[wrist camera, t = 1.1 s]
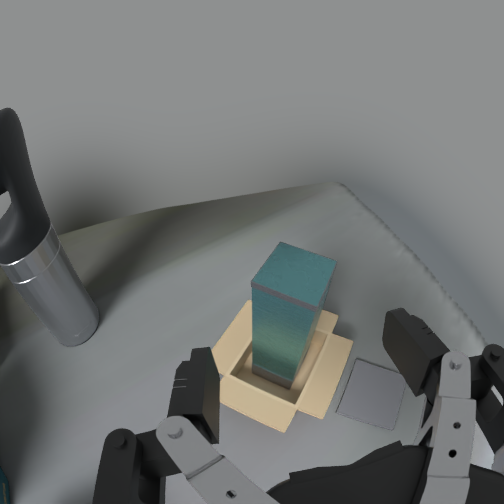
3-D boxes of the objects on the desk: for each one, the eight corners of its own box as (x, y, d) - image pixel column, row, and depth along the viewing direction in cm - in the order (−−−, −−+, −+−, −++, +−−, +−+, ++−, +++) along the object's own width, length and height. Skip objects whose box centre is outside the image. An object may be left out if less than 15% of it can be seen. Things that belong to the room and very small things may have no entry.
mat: (335, 412, 27) (336, 412, 26) (355, 360, 32) (356, 358, 32) (391, 430, 24) (393, 429, 24) (405, 377, 29) (407, 376, 29)
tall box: (251, 373, 31) (251, 281, 20) (270, 342, 34) (280, 241, 23) (289, 390, 29) (317, 307, 18) (305, 357, 32) (337, 261, 21)
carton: (193, 392, 29) (187, 382, 27) (258, 300, 40) (258, 284, 38) (305, 446, 24) (311, 443, 21) (351, 336, 35) (359, 323, 32)
